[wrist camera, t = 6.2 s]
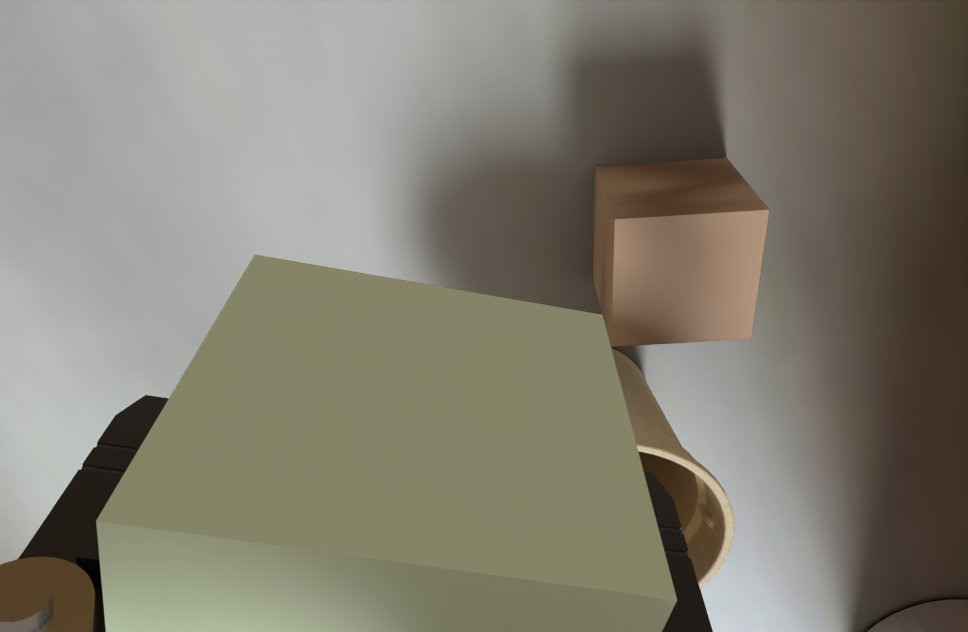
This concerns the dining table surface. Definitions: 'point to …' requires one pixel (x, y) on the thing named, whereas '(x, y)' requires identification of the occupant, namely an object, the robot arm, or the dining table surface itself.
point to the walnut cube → (676, 251)
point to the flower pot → (678, 475)
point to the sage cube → (387, 471)
